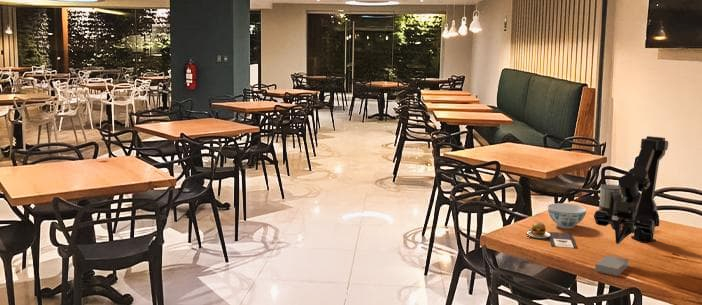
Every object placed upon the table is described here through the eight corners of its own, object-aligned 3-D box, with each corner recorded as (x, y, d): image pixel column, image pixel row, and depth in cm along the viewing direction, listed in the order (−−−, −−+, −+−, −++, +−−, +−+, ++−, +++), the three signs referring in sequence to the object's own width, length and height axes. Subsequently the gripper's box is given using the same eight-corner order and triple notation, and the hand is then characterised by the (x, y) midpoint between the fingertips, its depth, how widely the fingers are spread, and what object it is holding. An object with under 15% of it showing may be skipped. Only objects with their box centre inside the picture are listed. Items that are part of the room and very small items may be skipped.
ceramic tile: (607, 255, 218) (595, 264, 208) (628, 259, 213) (617, 269, 204) (606, 262, 218) (595, 272, 209) (628, 267, 214) (617, 277, 205)
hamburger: (550, 243, 239) (551, 229, 238) (518, 238, 245) (519, 224, 244) (557, 235, 249) (558, 221, 248) (526, 230, 255) (527, 216, 254)
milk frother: (592, 218, 273) (595, 184, 270) (624, 216, 277) (627, 182, 274) (614, 227, 259) (617, 192, 257) (647, 225, 263) (650, 190, 261)
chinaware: (580, 233, 250) (582, 214, 248) (541, 227, 258) (543, 209, 256) (588, 224, 262) (590, 206, 261) (551, 219, 270) (552, 201, 269)
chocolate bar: (571, 233, 249) (577, 247, 232) (571, 235, 249) (577, 250, 232) (547, 231, 251) (551, 245, 234) (547, 233, 251) (551, 248, 234)
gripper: (597, 187, 220) (584, 225, 214) (656, 196, 209) (644, 236, 202) (602, 205, 228) (590, 242, 221) (659, 214, 217) (648, 253, 210)
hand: (617, 243), depth 214 cm, fingers closed
